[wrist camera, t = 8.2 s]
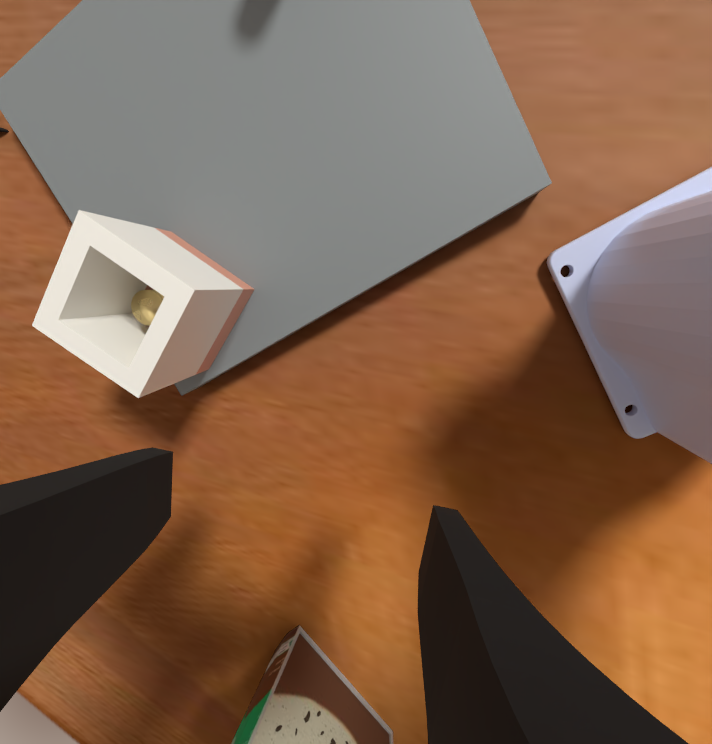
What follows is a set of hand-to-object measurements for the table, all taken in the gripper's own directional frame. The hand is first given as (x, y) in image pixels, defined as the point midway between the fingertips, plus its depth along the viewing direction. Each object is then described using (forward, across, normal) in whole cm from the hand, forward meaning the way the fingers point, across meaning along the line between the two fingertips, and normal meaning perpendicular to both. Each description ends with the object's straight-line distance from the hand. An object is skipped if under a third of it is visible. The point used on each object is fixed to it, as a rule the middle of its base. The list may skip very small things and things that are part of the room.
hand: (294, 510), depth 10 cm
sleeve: (+8, +8, -4) cm, 12 cm away
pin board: (+10, +6, -11) cm, 16 cm away
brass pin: (+8, +8, -4) cm, 12 cm away
